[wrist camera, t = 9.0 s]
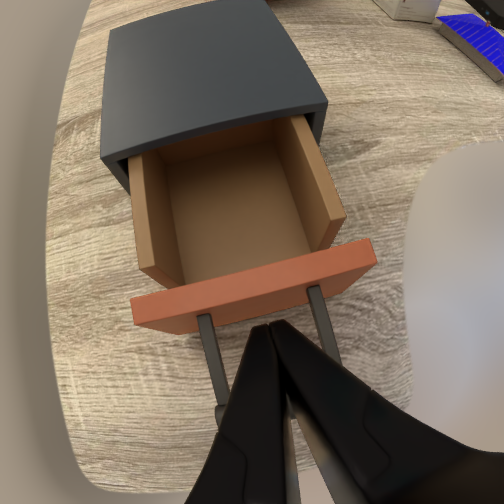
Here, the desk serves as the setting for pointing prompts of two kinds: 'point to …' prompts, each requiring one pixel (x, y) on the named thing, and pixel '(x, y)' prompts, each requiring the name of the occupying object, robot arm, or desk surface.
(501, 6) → the external hard drive
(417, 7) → the white packaging box
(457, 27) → the roof
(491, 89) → the desk surface
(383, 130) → the desk surface
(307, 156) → the drawer
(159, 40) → the cabinet
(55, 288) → the desk surface
